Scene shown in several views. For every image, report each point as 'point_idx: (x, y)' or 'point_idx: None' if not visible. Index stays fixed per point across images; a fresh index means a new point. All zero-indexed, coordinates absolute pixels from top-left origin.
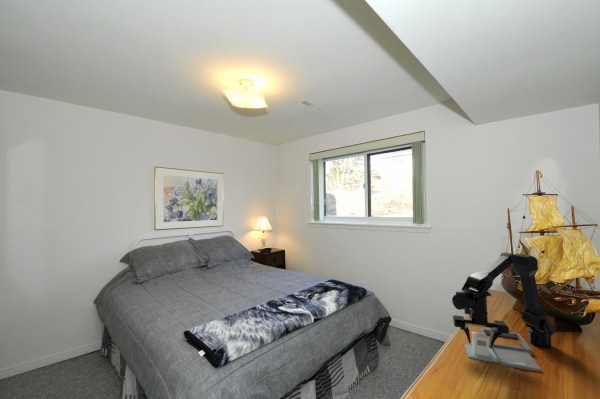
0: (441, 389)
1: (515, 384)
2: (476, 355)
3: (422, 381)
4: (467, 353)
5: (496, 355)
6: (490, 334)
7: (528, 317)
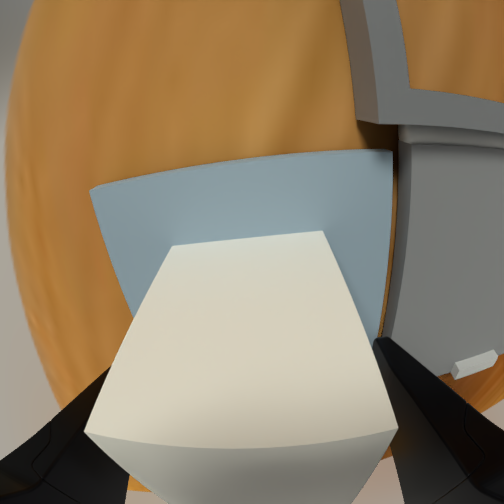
0: (145, 487)
1: None
2: None
3: None
4: None
5: (394, 277)
6: (446, 461)
7: None
